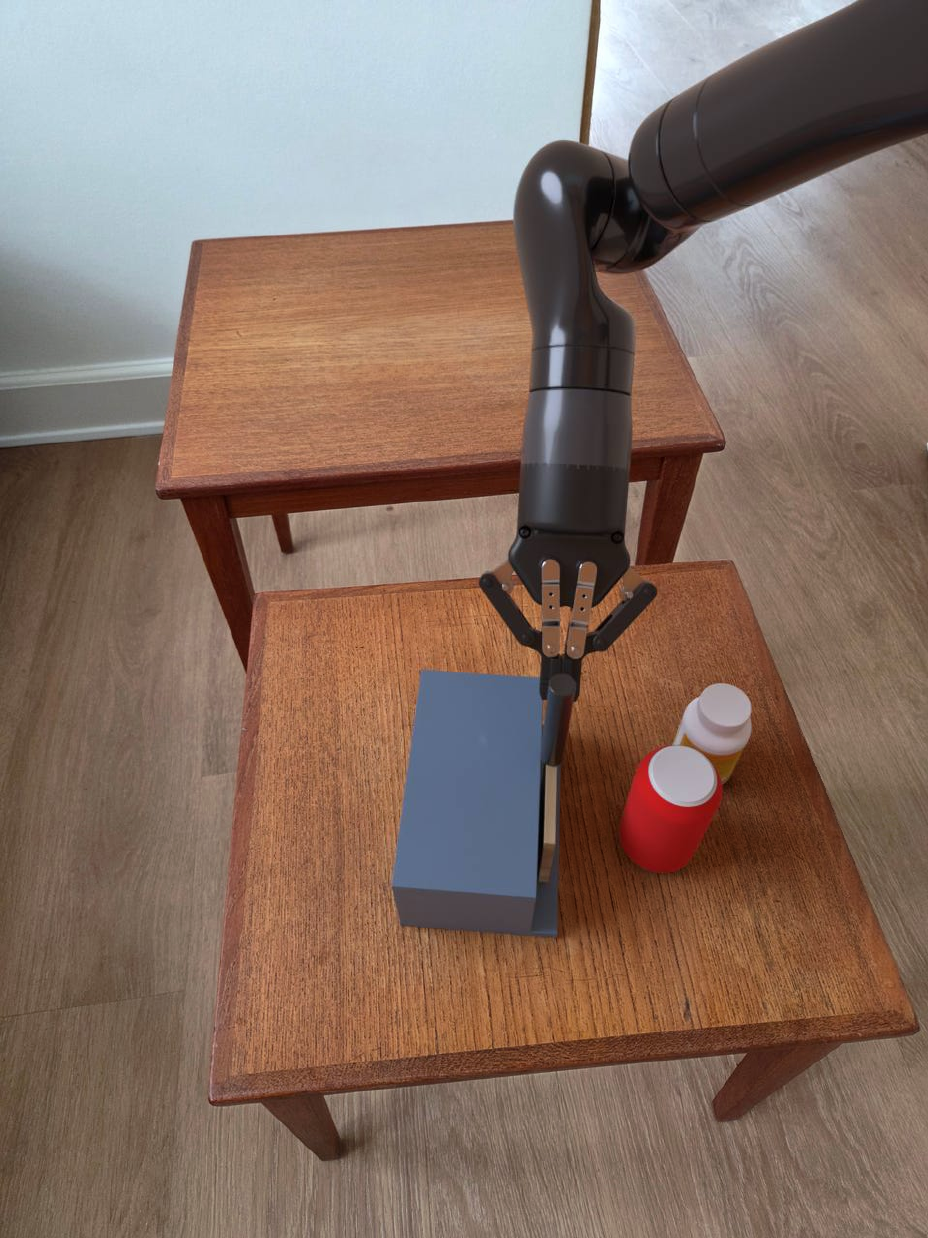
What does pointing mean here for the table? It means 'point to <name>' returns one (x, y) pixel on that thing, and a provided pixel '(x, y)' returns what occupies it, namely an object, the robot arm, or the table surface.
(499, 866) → the cabinet
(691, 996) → the table surface
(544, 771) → the brown flat handled piece
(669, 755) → the beverage can
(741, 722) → the supplement bottle
